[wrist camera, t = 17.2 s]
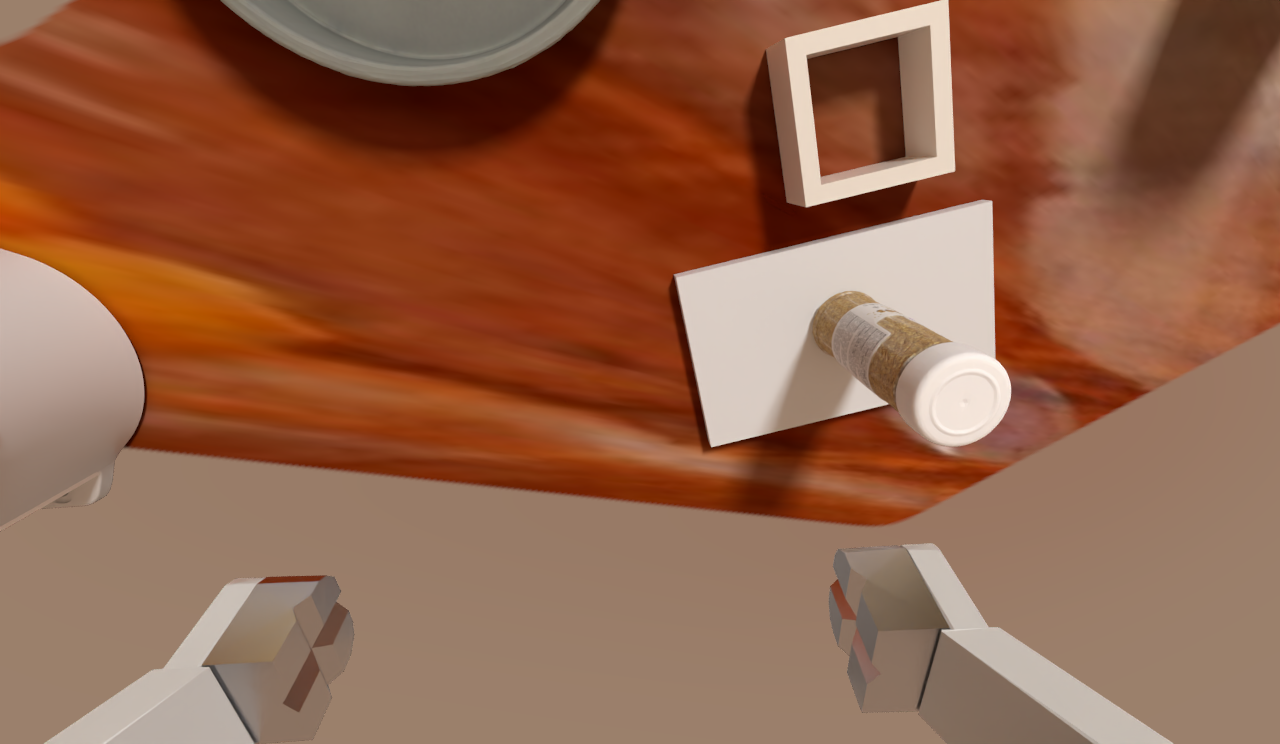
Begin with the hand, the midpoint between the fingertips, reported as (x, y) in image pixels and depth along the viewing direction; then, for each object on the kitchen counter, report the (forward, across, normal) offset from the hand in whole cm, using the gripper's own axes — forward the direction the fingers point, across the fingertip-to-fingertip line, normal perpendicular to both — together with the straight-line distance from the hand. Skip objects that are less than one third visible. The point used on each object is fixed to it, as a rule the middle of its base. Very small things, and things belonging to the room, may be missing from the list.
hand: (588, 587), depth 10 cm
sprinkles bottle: (+29, -14, +9) cm, 33 cm away
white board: (+30, -14, +9) cm, 34 cm away
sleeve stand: (+32, -14, -4) cm, 35 cm away
